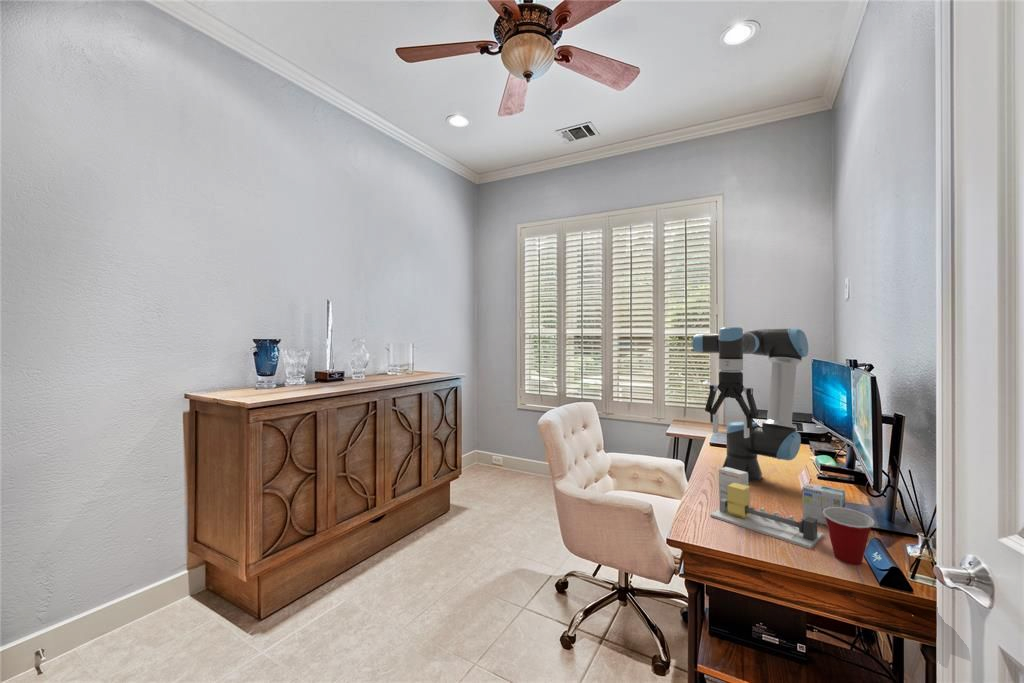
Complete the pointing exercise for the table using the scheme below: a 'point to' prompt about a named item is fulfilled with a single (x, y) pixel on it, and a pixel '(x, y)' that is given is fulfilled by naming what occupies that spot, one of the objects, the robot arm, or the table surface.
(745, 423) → the robot arm
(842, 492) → the light bulb box
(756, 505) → the table surface
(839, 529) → the plastic cup
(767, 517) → the rod slider on plate
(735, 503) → the sleeve
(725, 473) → the ink box
